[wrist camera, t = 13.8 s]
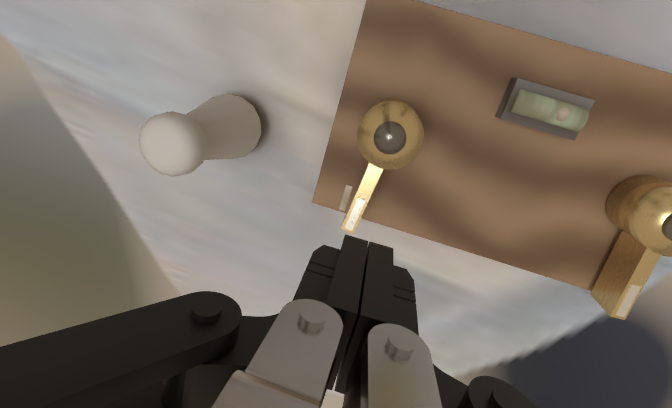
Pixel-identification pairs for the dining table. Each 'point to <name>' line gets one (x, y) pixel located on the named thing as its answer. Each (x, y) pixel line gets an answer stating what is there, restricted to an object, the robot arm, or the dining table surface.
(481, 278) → the dining table surface
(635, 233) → the dial
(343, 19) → the dining table surface
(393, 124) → the dial
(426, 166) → the levelling plate
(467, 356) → the dining table surface
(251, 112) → the salt shaker
